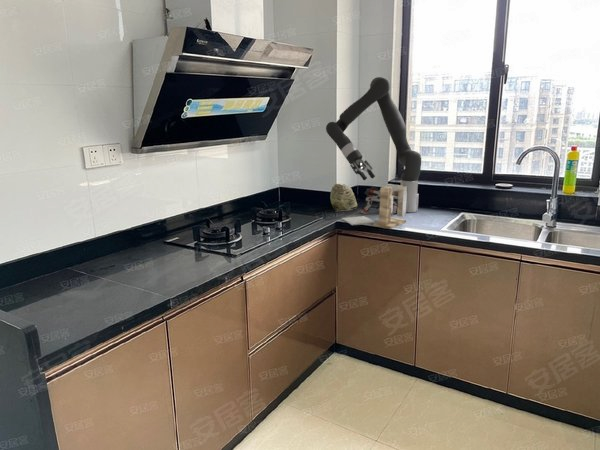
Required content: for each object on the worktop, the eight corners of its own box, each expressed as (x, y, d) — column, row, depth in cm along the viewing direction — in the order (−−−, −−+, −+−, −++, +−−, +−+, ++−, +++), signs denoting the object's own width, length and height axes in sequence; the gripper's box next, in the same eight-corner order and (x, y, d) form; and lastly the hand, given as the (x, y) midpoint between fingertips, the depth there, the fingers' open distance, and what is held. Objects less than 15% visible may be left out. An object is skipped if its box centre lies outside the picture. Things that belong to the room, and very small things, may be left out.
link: (384, 213, 224) (385, 184, 220) (387, 212, 227) (388, 183, 223) (402, 216, 218) (403, 186, 214) (405, 215, 220) (407, 185, 217)
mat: (364, 217, 234) (364, 216, 233) (375, 223, 222) (376, 221, 221) (341, 219, 230) (341, 218, 229) (352, 225, 218) (352, 224, 217)
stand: (390, 219, 229) (392, 182, 224) (406, 222, 223) (408, 184, 219) (373, 226, 216) (374, 187, 211) (389, 229, 211) (391, 189, 206)
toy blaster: (398, 220, 240) (405, 193, 237) (360, 213, 240) (366, 186, 236) (396, 218, 244) (403, 192, 240) (359, 211, 243) (365, 185, 240)
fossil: (327, 210, 248) (327, 184, 244) (347, 205, 261) (348, 180, 257) (339, 213, 242) (340, 186, 238) (359, 208, 255) (360, 182, 251)
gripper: (349, 149, 223) (368, 175, 219) (363, 148, 234) (381, 172, 230) (339, 159, 227) (358, 184, 223) (353, 157, 238) (371, 181, 234)
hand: (369, 178), depth 227 cm, fingers open, 8 cm apart
